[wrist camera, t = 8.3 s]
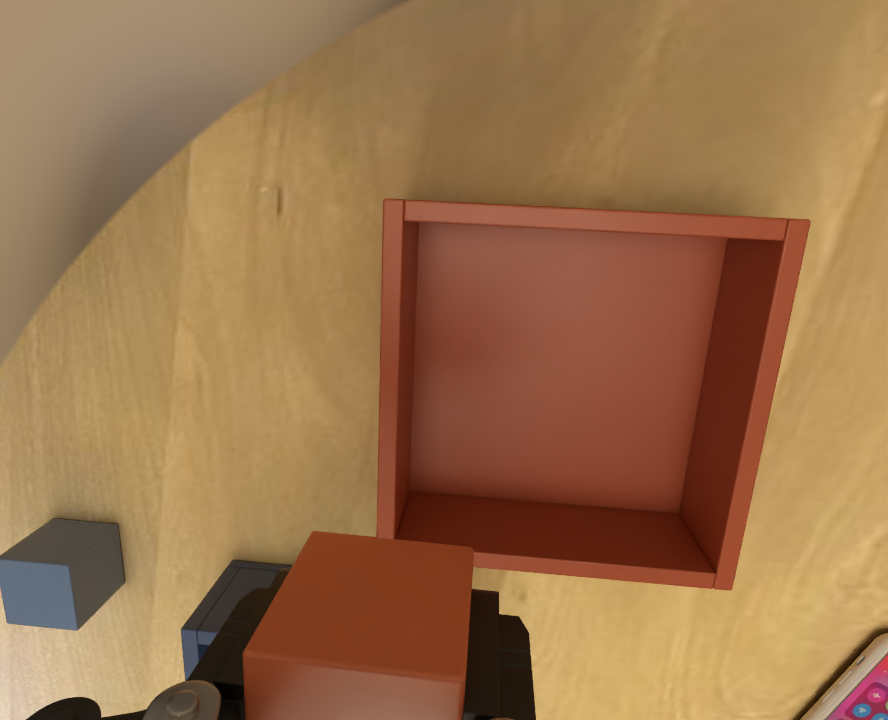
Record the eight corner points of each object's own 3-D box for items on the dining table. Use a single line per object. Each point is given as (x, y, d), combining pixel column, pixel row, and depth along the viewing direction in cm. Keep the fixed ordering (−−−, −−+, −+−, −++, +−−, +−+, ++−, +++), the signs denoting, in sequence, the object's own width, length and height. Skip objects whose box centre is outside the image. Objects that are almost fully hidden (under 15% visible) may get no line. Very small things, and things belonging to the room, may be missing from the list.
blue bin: (241, 731, 36) (197, 824, 30) (231, 559, 32) (180, 629, 27) (437, 753, 35) (428, 853, 29) (447, 579, 31) (439, 655, 26)
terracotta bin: (396, 497, 30) (375, 558, 25) (404, 201, 26) (383, 198, 21) (687, 521, 29) (732, 591, 24) (743, 218, 25) (812, 219, 20)
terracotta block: (312, 662, 15) (248, 822, 11) (312, 529, 14) (240, 653, 10) (463, 680, 14) (451, 851, 11) (474, 545, 13) (465, 679, 10)
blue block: (61, 576, 34) (6, 624, 30) (52, 517, 33) (-6, 558, 29) (125, 583, 33) (77, 631, 29) (118, 523, 32) (68, 565, 28)
